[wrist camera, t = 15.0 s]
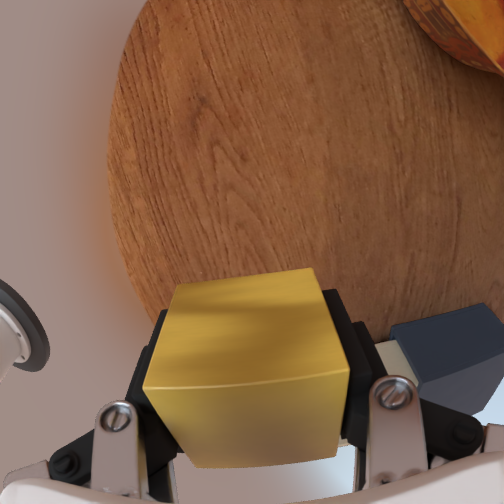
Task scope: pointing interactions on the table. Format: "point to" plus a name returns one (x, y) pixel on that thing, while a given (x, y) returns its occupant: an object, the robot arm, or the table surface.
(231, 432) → the block
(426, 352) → the cabinet
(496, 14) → the bowl
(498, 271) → the table surface
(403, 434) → the robot arm
